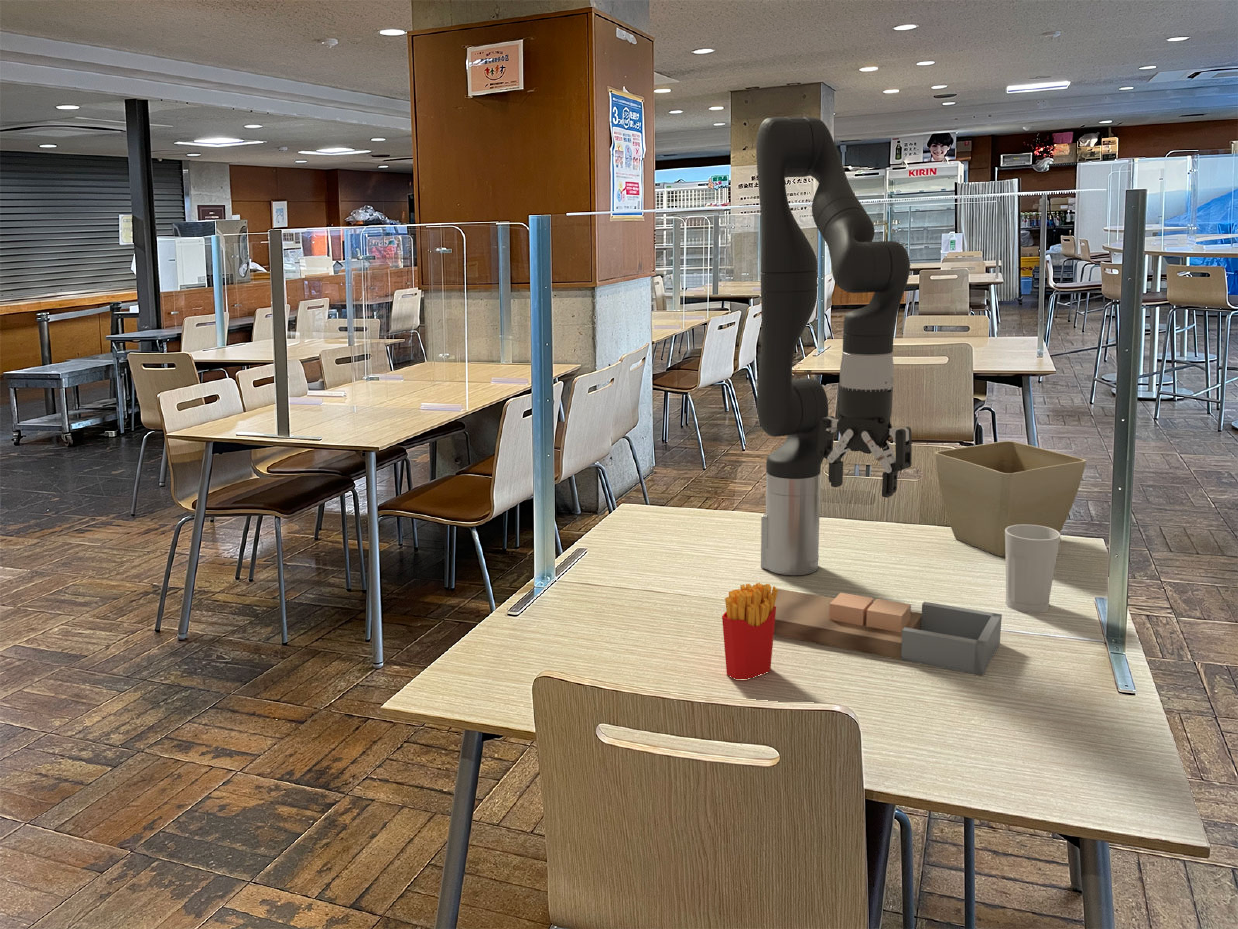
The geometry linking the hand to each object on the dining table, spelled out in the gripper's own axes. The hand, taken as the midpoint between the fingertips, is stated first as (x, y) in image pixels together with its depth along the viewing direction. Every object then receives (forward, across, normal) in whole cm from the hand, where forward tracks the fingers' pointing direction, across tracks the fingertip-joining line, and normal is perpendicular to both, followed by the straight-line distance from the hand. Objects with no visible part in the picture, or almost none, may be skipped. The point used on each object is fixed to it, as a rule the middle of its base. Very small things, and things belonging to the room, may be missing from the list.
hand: (861, 491), depth 151 cm
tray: (+20, +16, -2) cm, 26 cm away
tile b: (+18, +7, -4) cm, 20 cm away
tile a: (+18, +2, -5) cm, 19 cm away
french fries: (+20, -1, -25) cm, 33 cm away
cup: (+20, +17, +22) cm, 35 cm away
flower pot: (+21, +2, +49) cm, 53 cm away
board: (+20, 0, -6) cm, 21 cm away
